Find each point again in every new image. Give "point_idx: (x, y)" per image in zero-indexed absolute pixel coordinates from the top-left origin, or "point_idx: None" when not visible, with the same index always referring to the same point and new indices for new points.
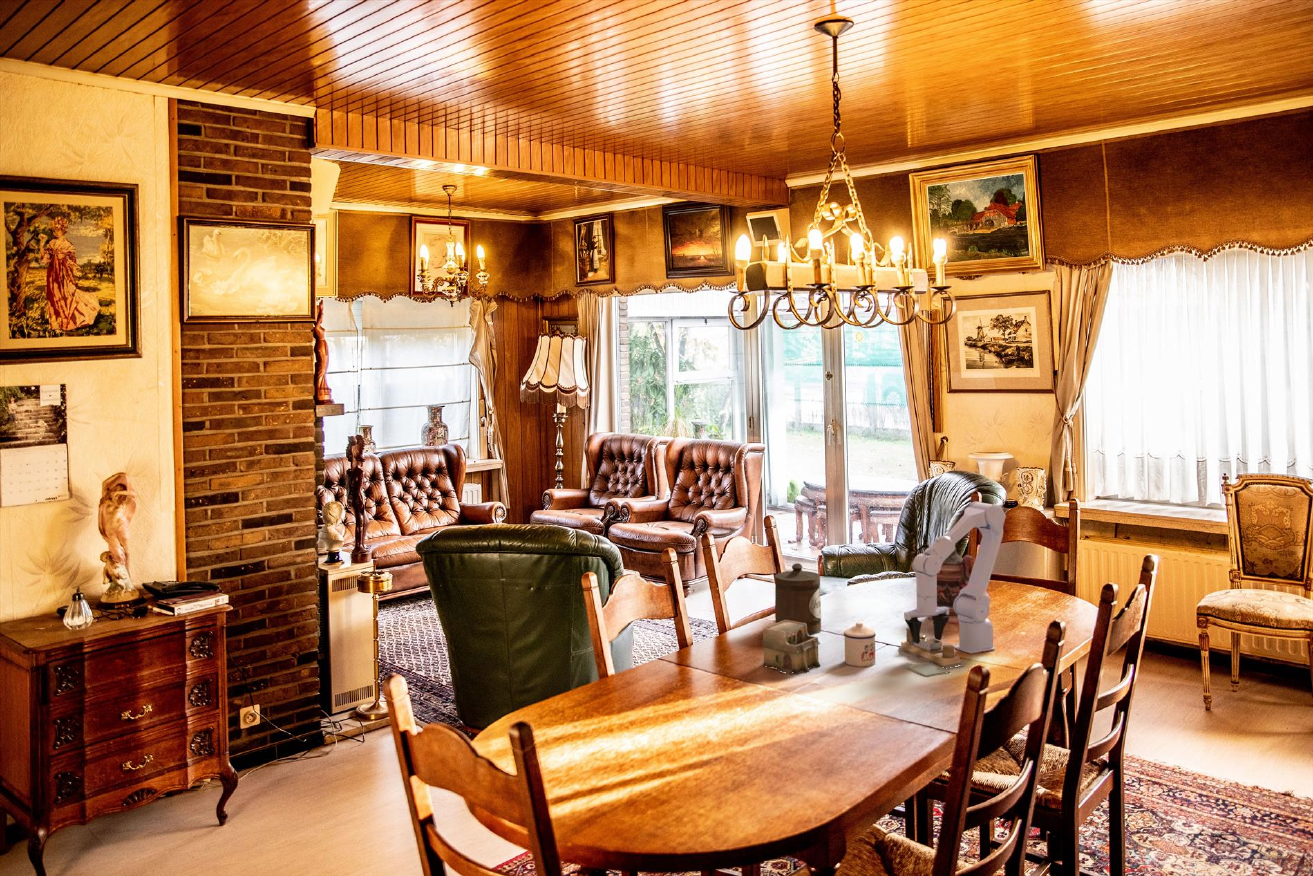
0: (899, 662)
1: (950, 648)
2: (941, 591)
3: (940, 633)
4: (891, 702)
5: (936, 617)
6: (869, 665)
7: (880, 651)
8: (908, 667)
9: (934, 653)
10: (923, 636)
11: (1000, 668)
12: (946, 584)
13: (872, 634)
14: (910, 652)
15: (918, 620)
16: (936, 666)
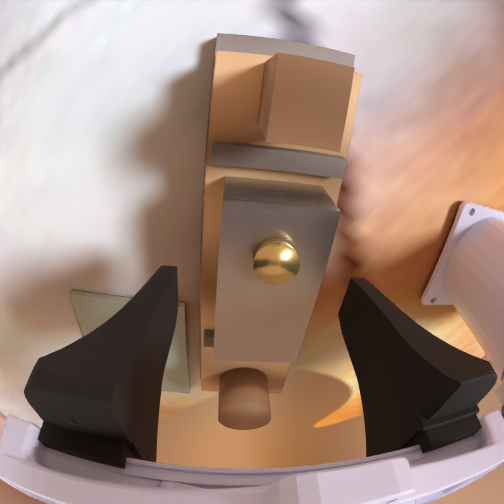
0: (80, 234)
1: (236, 426)
2: None
3: (350, 356)
4: (4, 397)
5: (407, 421)
6: None
7: (101, 22)
8: (78, 316)
9: None
10: (267, 278)
11: (342, 407)
12: None
13: None
14: (205, 159)
15: (146, 458)
16: (180, 356)
